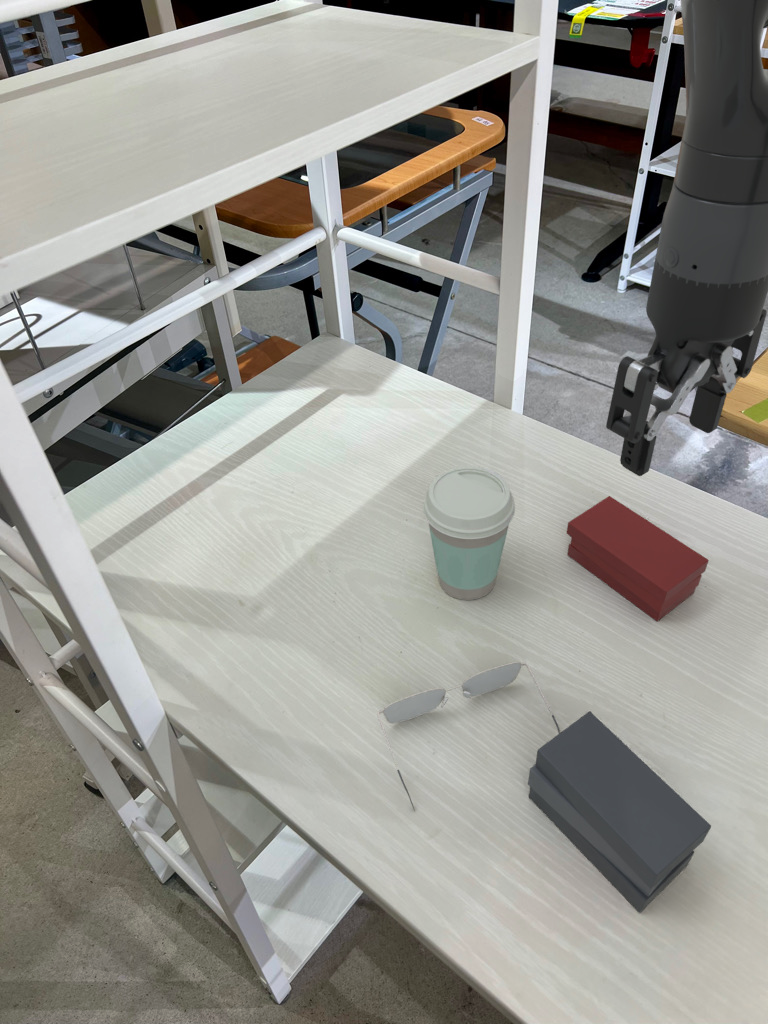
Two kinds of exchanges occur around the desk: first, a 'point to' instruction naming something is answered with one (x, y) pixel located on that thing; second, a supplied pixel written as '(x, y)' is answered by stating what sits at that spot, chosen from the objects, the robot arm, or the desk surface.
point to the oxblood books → (628, 583)
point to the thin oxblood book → (637, 548)
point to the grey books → (615, 810)
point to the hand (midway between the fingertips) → (669, 447)
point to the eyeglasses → (434, 697)
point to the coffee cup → (468, 528)
